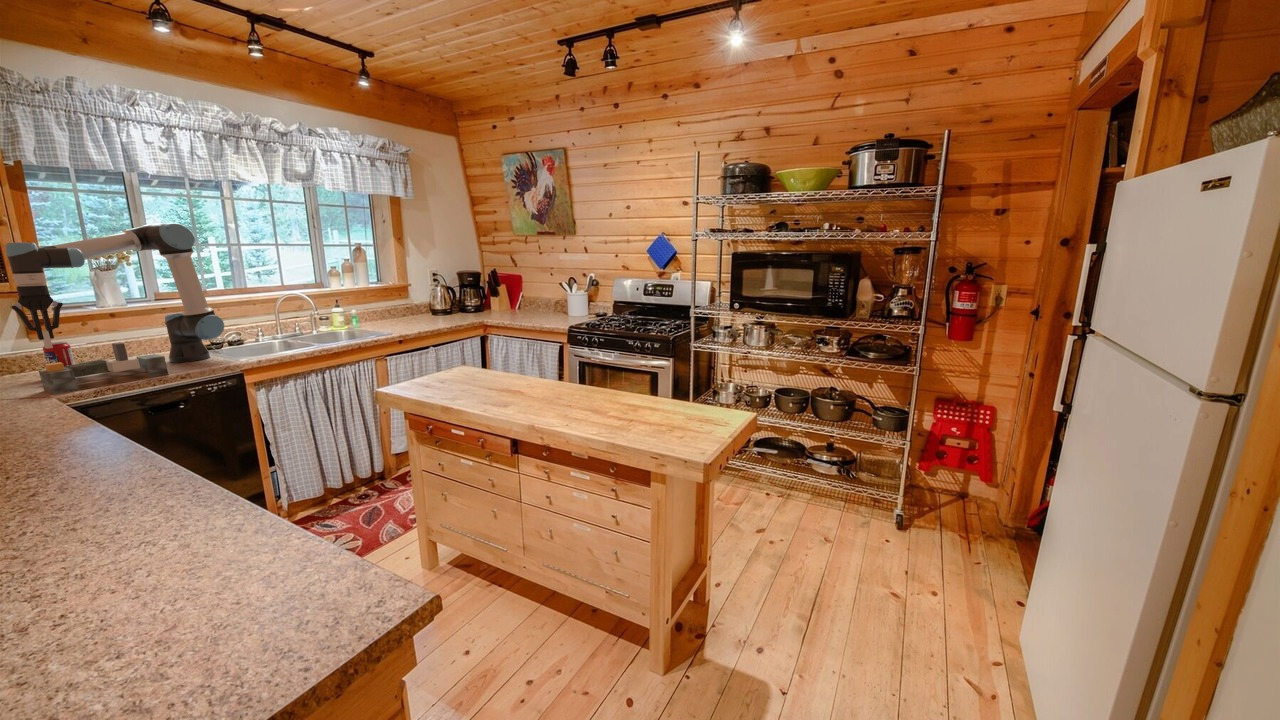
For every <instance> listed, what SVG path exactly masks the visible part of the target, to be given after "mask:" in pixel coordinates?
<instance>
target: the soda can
mask: <svg viewBox="0 0 1280 720" xmlns="http://www.w3.org/2000/svg"><path fill="white" fill-rule="evenodd" d="M51 343H52V347H53V348H45V346H44V345H43V346H42V352H43V354H44V358H45V362H46V364H51V363H58V362H61V363H63V365H64V366H68V365H74V364H76V361H75V359H74V355H73V351H72V347H71V345H70V344H69V343H67V341H54V342H51Z"/></svg>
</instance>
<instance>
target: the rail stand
mask: <svg viewBox="0 0 1280 720" xmlns="http://www.w3.org/2000/svg"><path fill="white" fill-rule="evenodd" d="M135 358H137V359H138V360H139V364H140V368H138V369H132V370H125V371H119V372H106V373H100V374H94V375H87V376H81V377H75V376H74V372H73V370H72V369H69V368H66V367H64V368H65V370H62V371H55V372H47V371H46V369H43V370H38V373H39V376H40V380H41V384H42V388H43V392H46V393H47V394H50V395H53V396H54V395H57V394H64V393H70V392H74V391H80V390H86V389H90V388H91V389H92V388H98V387H104V386H110V385H115V384H120V383H121V384H122V383H128V382H131V381H138V380H144V379H150V378H151V379H152V378H155V377H162V376H166V375H169V371H168V366H167V362H166V358H165V356H164V355H161V354H160V355H159V354H155V353H154V354H153V353H152V354H146V355H139V356H136V357H135Z"/></svg>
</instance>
